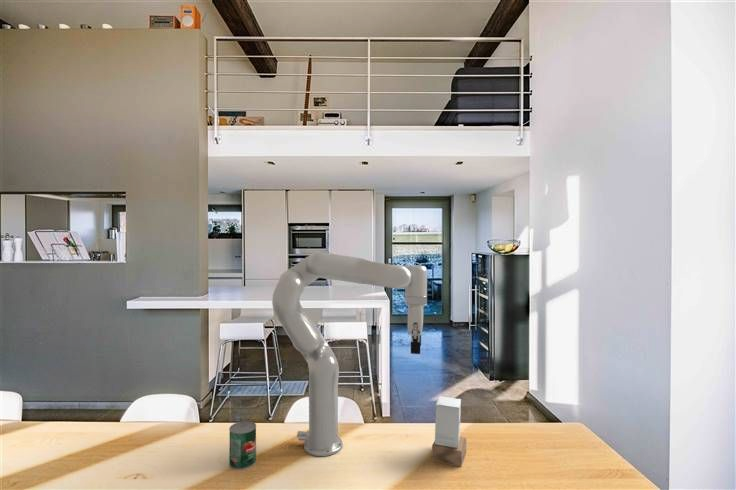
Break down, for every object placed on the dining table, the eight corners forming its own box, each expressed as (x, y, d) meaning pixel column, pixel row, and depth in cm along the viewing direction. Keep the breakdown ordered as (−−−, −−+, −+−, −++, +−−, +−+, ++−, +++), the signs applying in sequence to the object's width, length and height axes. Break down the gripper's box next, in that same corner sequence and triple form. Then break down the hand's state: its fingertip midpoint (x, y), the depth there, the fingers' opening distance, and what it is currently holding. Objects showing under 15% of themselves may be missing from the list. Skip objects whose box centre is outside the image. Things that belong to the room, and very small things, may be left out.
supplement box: (458, 448, 120) (459, 407, 120) (434, 444, 123) (435, 404, 123) (460, 437, 127) (461, 398, 127) (437, 433, 130) (438, 395, 130)
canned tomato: (254, 468, 118) (254, 431, 118) (227, 470, 117) (227, 433, 117) (257, 454, 126) (257, 420, 126) (231, 456, 125) (231, 421, 124)
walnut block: (432, 461, 123) (432, 445, 123) (438, 447, 131) (438, 432, 131) (461, 467, 119) (461, 451, 119) (466, 453, 127) (466, 437, 127)
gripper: (406, 297, 147) (406, 343, 147) (403, 304, 130) (403, 356, 130) (427, 297, 145) (427, 344, 146) (426, 304, 128) (426, 357, 128)
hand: (416, 349), depth 138 cm, fingers open, 9 cm apart
